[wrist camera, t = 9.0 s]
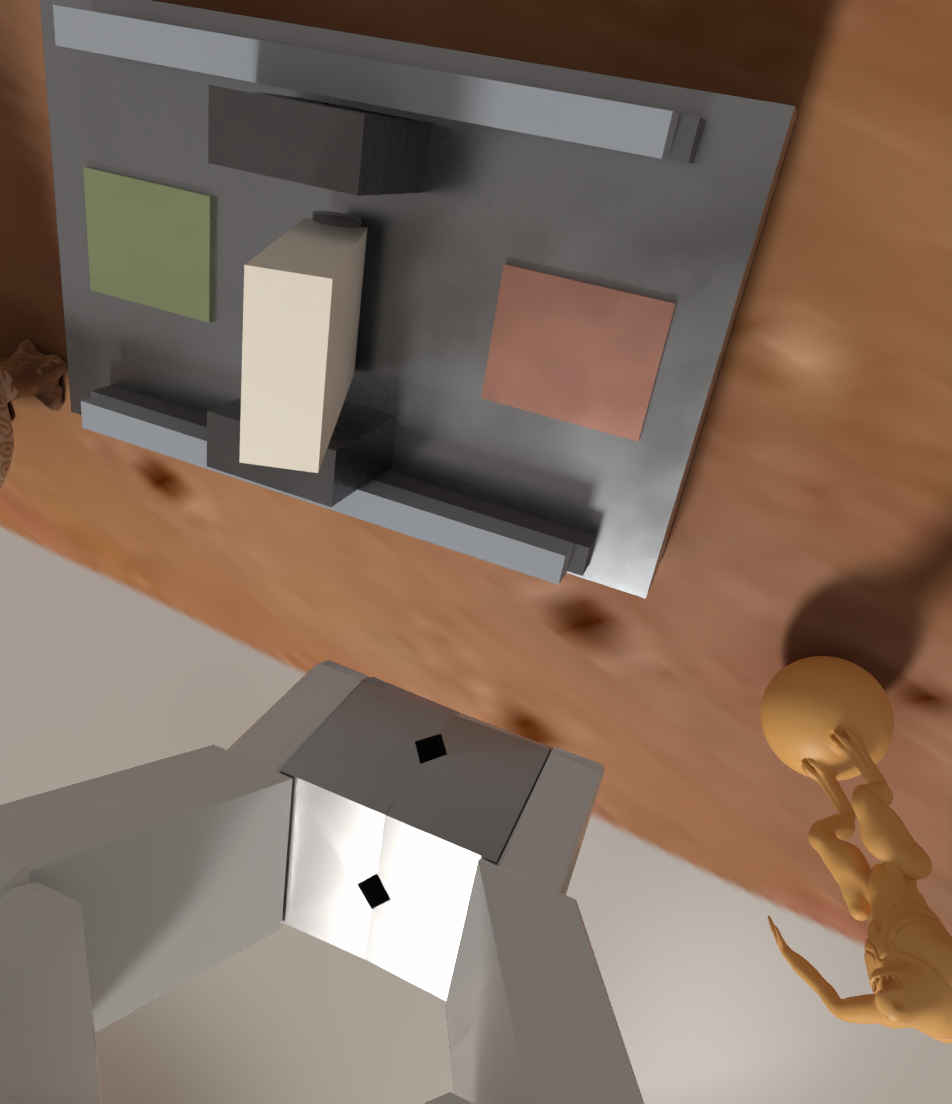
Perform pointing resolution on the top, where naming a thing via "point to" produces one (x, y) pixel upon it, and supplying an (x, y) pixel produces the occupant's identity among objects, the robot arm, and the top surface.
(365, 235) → the lever
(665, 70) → the top surface
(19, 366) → the figurine
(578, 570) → the pair of grey bars
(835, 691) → the figurine
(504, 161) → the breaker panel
